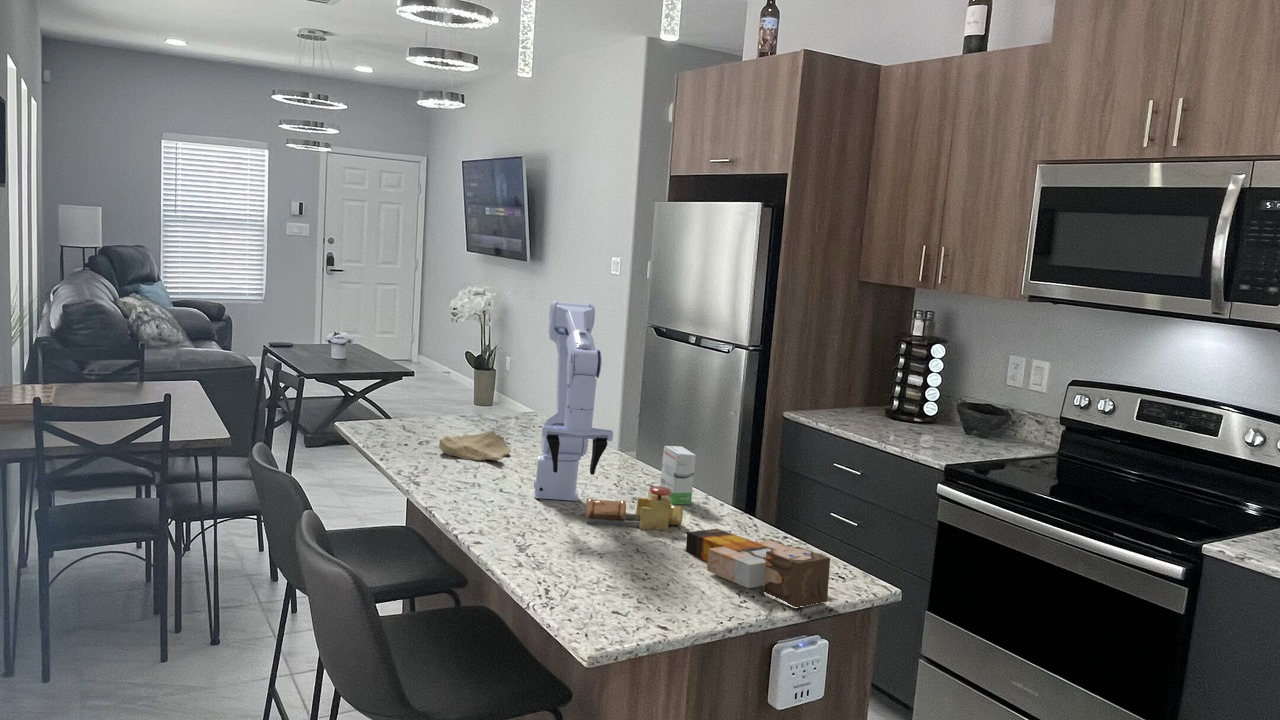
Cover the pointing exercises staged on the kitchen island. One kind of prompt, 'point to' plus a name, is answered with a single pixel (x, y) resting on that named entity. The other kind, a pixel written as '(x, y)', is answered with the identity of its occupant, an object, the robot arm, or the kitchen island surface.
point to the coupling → (605, 509)
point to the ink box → (678, 473)
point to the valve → (658, 510)
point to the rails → (615, 521)
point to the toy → (764, 565)
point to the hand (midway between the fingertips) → (573, 472)
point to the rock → (475, 446)
